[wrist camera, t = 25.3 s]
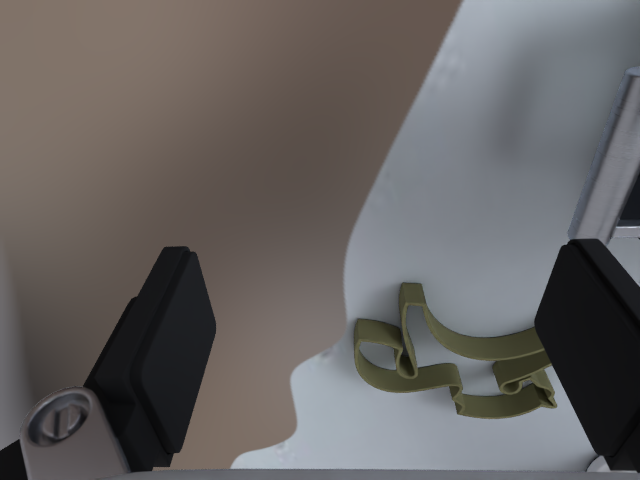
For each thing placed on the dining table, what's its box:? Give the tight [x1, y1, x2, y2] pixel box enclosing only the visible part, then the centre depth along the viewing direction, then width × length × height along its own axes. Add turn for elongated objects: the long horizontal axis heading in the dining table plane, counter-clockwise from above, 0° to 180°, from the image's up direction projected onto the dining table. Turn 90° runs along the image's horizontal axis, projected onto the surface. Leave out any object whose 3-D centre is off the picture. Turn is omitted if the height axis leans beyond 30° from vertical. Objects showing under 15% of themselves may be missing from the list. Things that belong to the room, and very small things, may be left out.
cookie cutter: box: [354, 283, 557, 419], centre depth 34 cm, size 18×12×2 cm, turn 78°
